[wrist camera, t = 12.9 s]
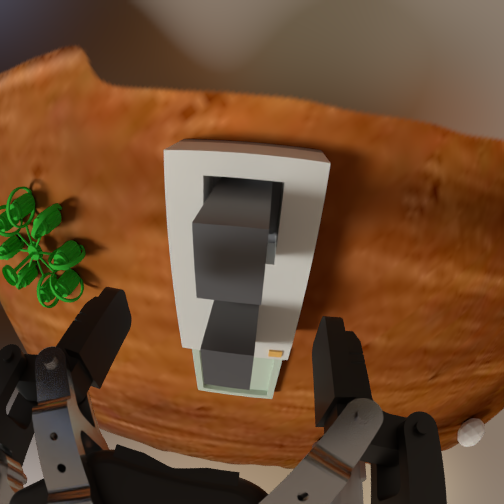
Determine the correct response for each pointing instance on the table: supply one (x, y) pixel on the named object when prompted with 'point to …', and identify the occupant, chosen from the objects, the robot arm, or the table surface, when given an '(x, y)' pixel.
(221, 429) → the table surface
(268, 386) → the sage tray
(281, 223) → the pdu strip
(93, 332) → the robot arm
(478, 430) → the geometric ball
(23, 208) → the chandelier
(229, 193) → the grey rectangular prism
